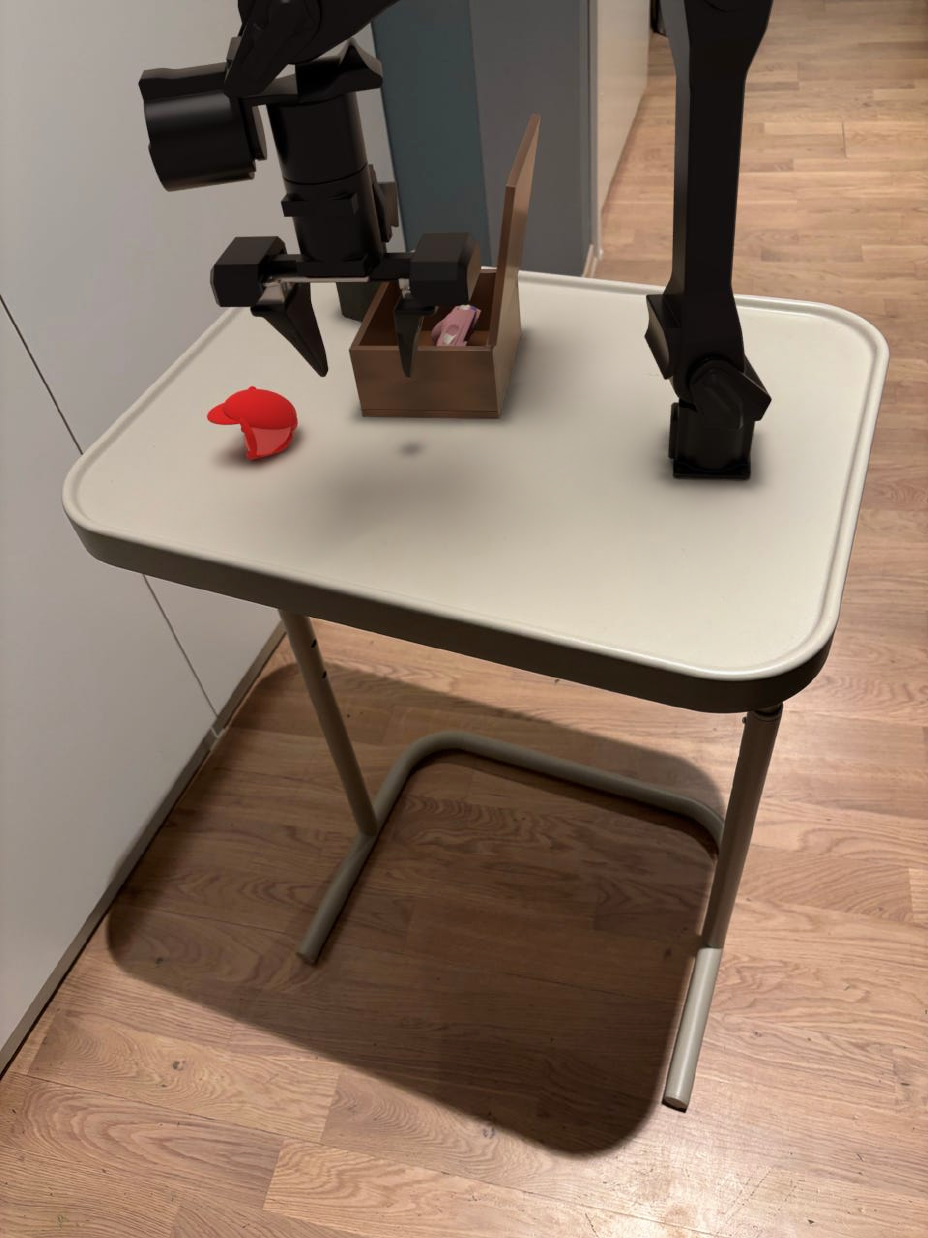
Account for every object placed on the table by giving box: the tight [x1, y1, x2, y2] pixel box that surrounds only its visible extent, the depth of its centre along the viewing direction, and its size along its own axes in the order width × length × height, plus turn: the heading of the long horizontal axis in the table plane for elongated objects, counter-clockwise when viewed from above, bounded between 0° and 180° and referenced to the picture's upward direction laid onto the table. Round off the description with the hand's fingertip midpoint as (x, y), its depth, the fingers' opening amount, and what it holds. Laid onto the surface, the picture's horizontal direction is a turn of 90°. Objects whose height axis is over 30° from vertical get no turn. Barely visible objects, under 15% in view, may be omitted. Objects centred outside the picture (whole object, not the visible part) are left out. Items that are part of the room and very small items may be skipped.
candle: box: [335, 243, 388, 323], centre depth 98 cm, size 5×5×25 cm
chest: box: [348, 268, 523, 420], centre depth 93 cm, size 14×16×7 cm
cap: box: [206, 385, 299, 460], centre depth 88 cm, size 8×6×6 cm
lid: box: [488, 113, 542, 346], centre depth 84 cm, size 14×16×1 cm
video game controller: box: [431, 305, 481, 346], centre depth 93 cm, size 10×5×7 cm, turn 167°
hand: (366, 374), depth 73 cm, fingers open, 6 cm apart
